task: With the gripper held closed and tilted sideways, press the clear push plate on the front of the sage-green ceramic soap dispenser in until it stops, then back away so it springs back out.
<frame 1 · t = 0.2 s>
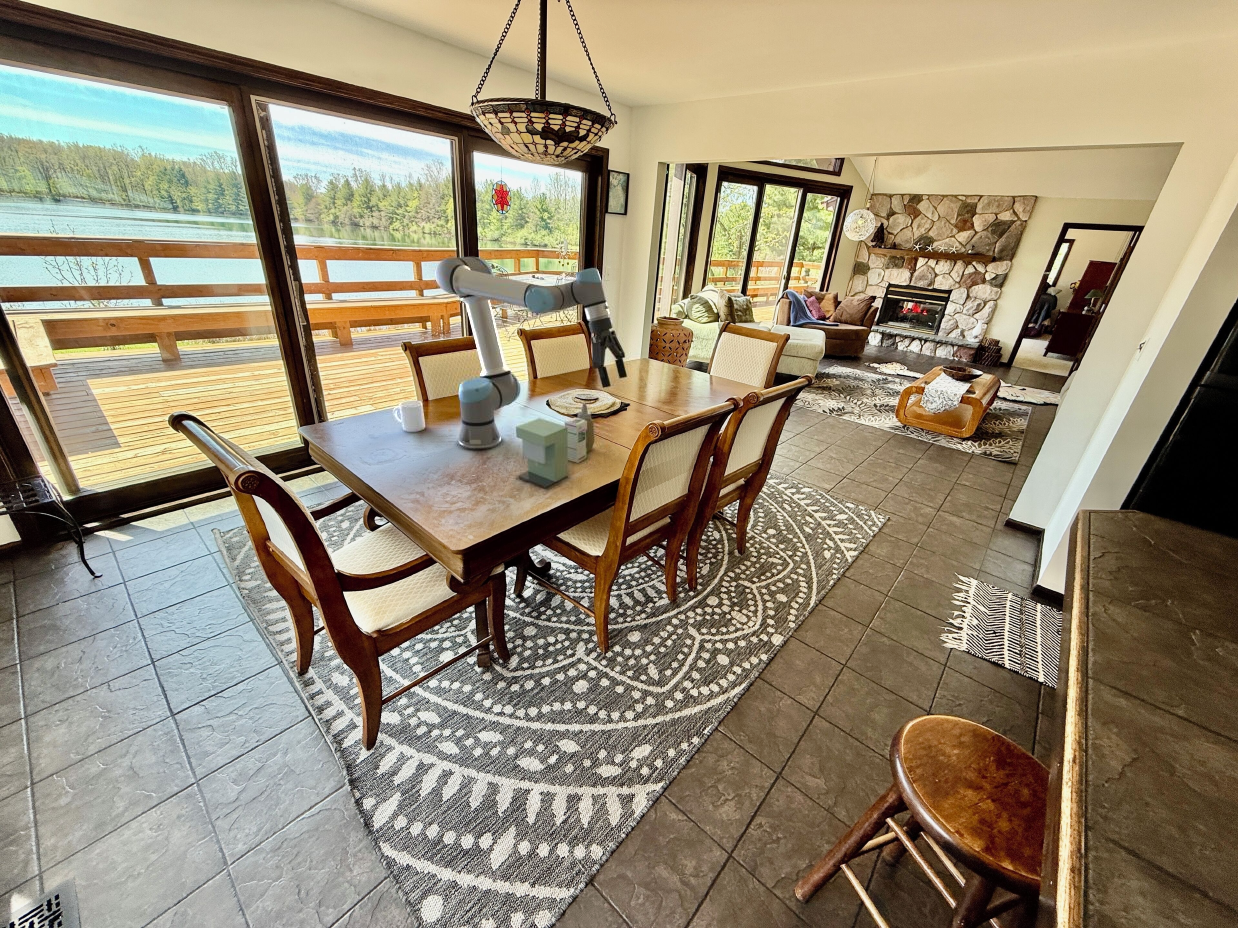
hand: (615, 382, 163), 28 cm above the table, tool tilted 20°, fingers open, 13 cm apart
squeeze bottle: (583, 450, 179), on the table
mug: (409, 428, 190), on the table
dispenser: (546, 476, 158), on the table
push plate: (533, 451, 149), point 11 cm above the table, slide at 0.0 cm
syrup box: (575, 459, 172), on the table
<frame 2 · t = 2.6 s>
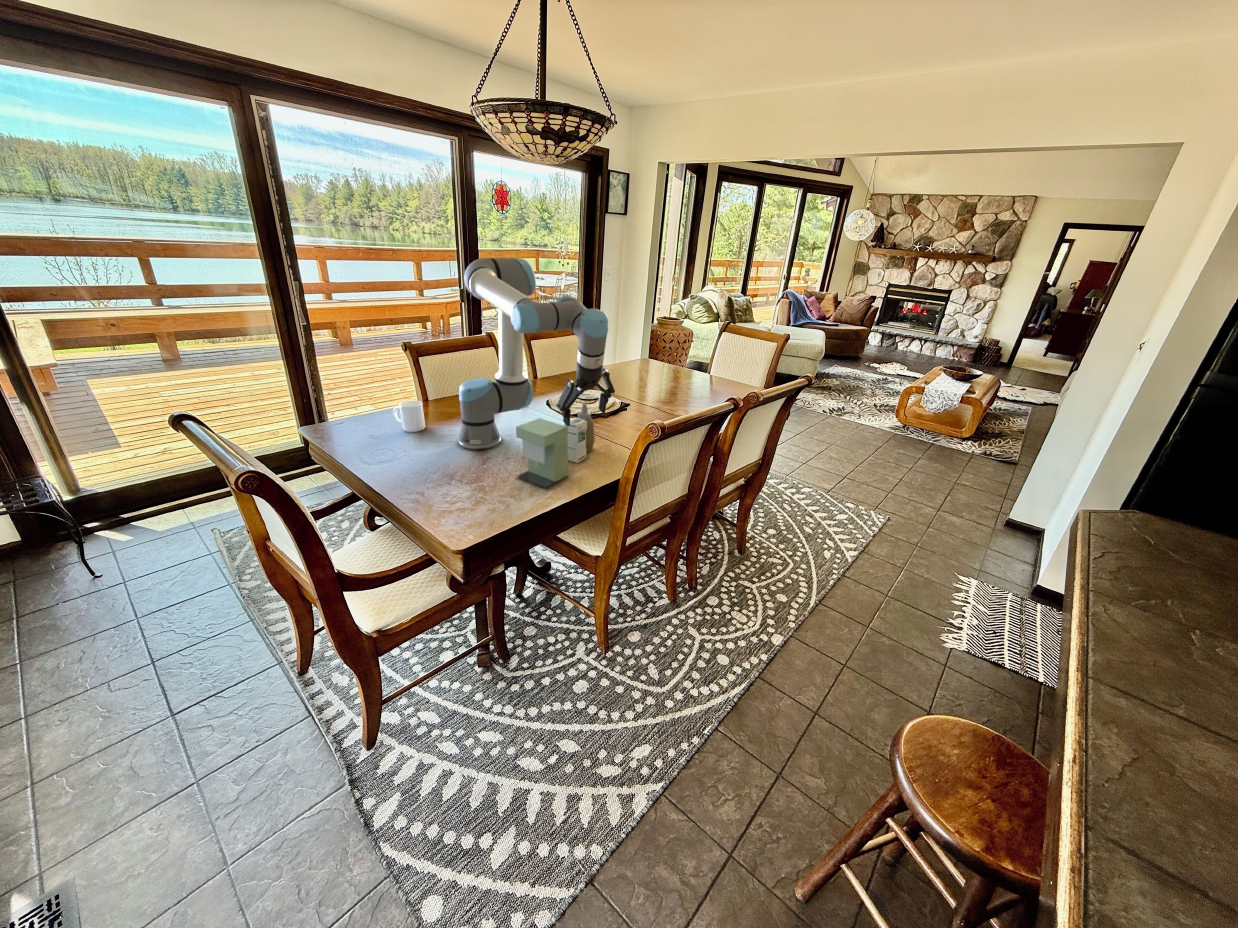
hand: (584, 417, 154), 20 cm above the table, tool tilted 25°, fingers open, 13 cm apart
nothing on the table moved.
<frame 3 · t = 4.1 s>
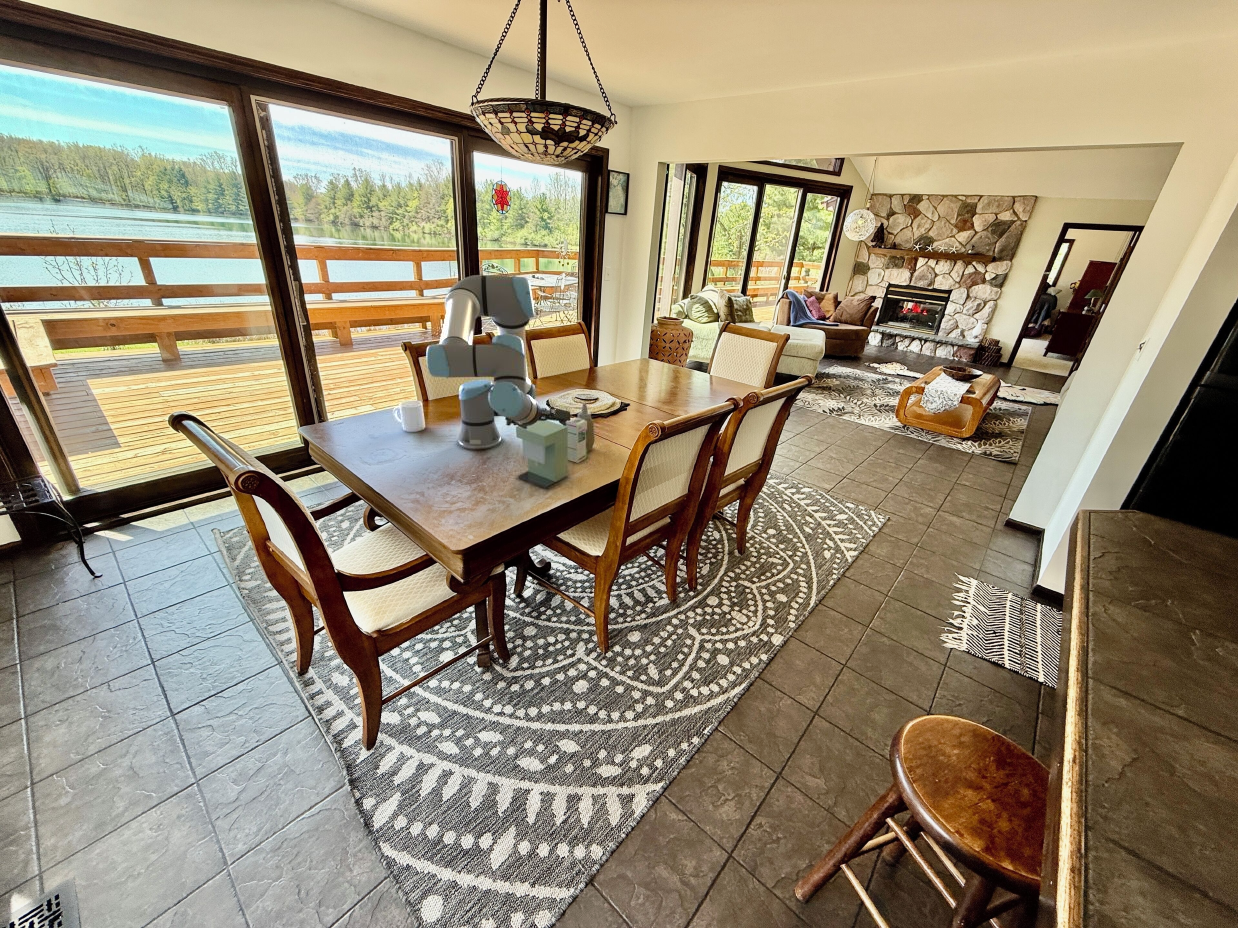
hand: (545, 422, 145), 21 cm above the table, tool tilted 60°, fingers open, 11 cm apart
nothing on the table moved.
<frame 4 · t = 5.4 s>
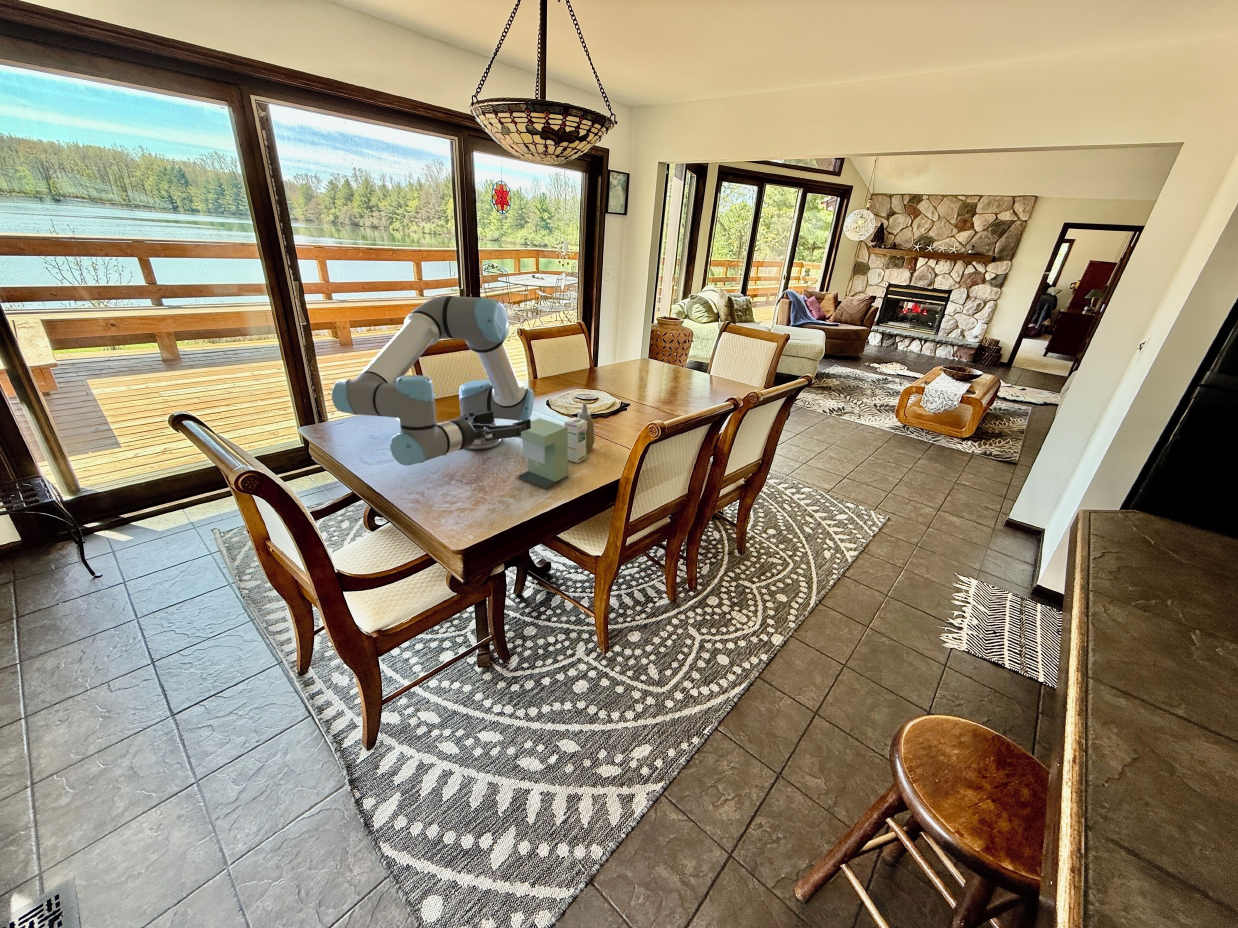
hand: (510, 419, 136), 24 cm above the table, tool horizontal, fingers open, 13 cm apart
nothing on the table moved.
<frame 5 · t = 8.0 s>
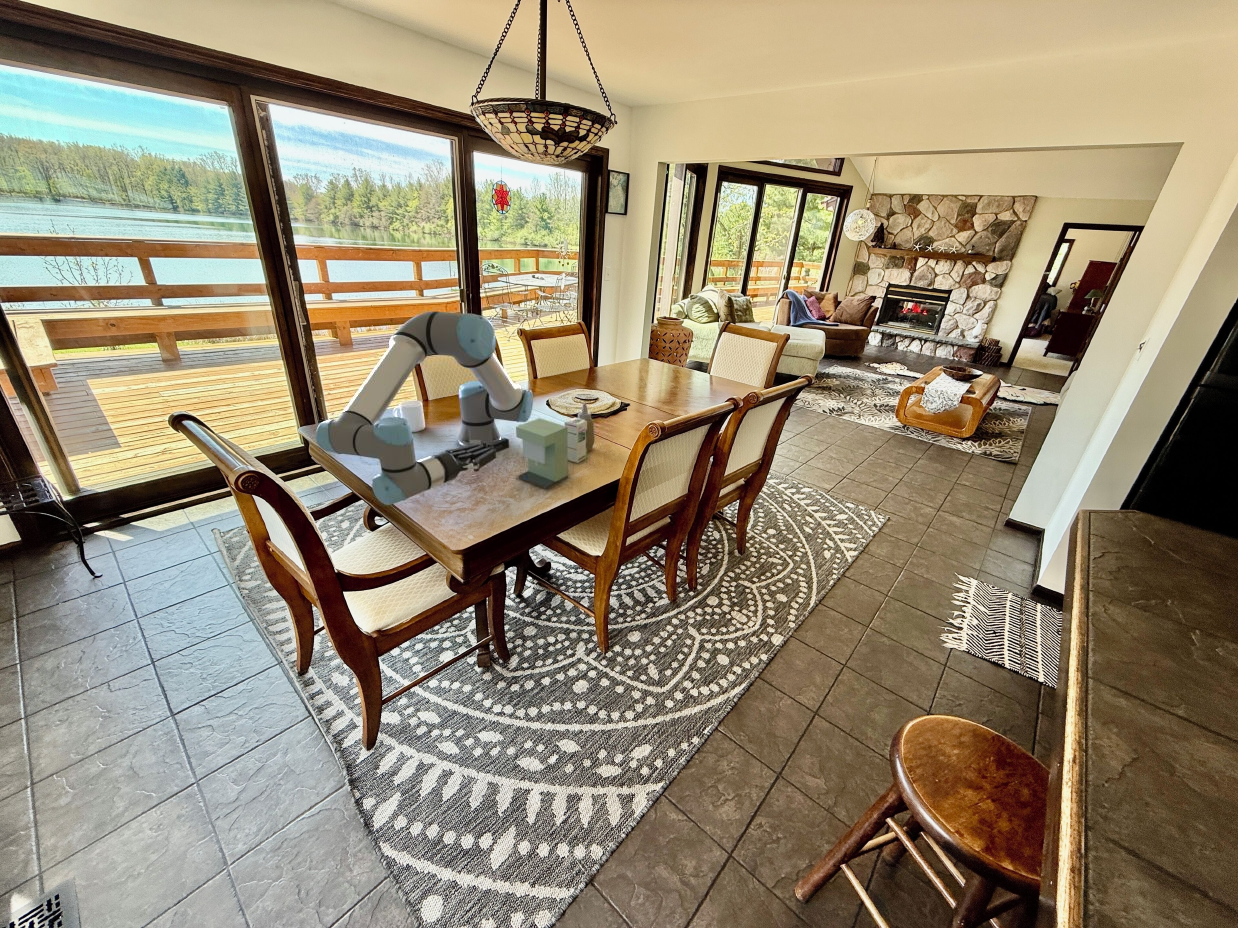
hand: (506, 442, 139), 17 cm above the table, tool horizontal, fingers closed
nothing on the table moved.
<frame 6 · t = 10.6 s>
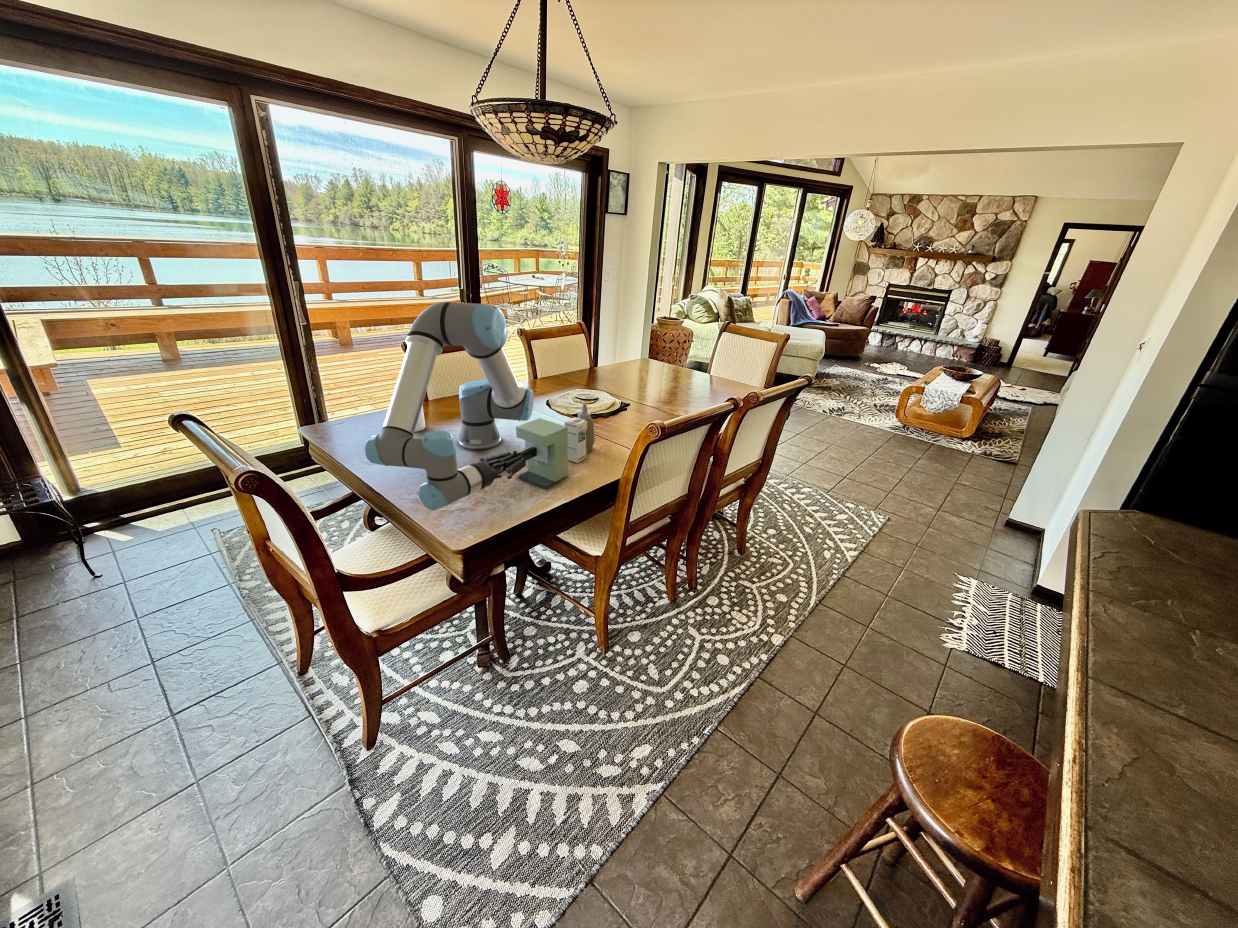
hand: (534, 451, 150), 11 cm above the table, tool horizontal, fingers closed
push plate: (536, 450, 150), point 11 cm above the table, slide at 1.0 cm, touching gripper
everything else where it was.
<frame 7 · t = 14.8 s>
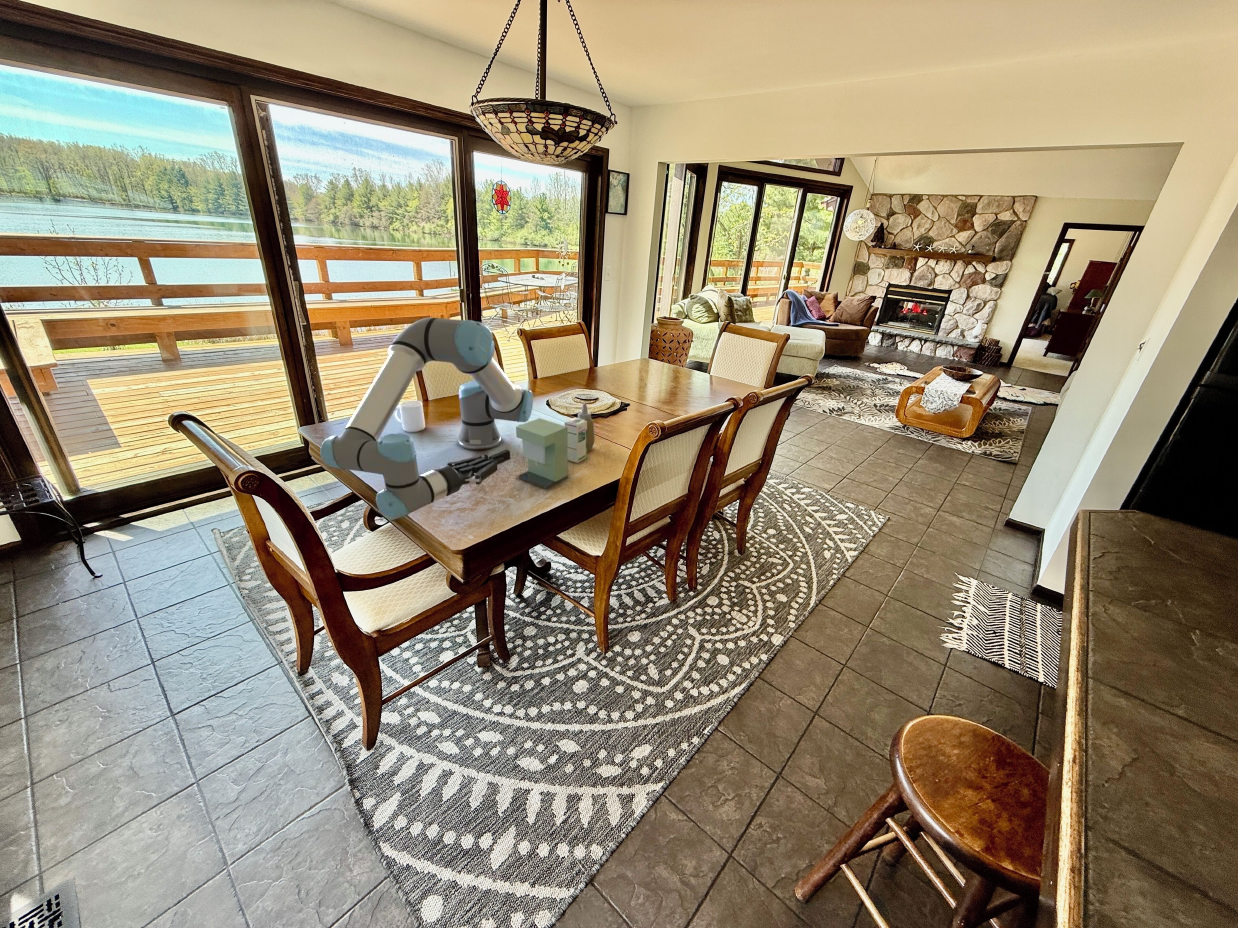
hand: (508, 454, 140), 14 cm above the table, tool horizontal, fingers closed
push plate: (533, 451, 149), point 11 cm above the table, slide at 0.0 cm
everything else where it was.
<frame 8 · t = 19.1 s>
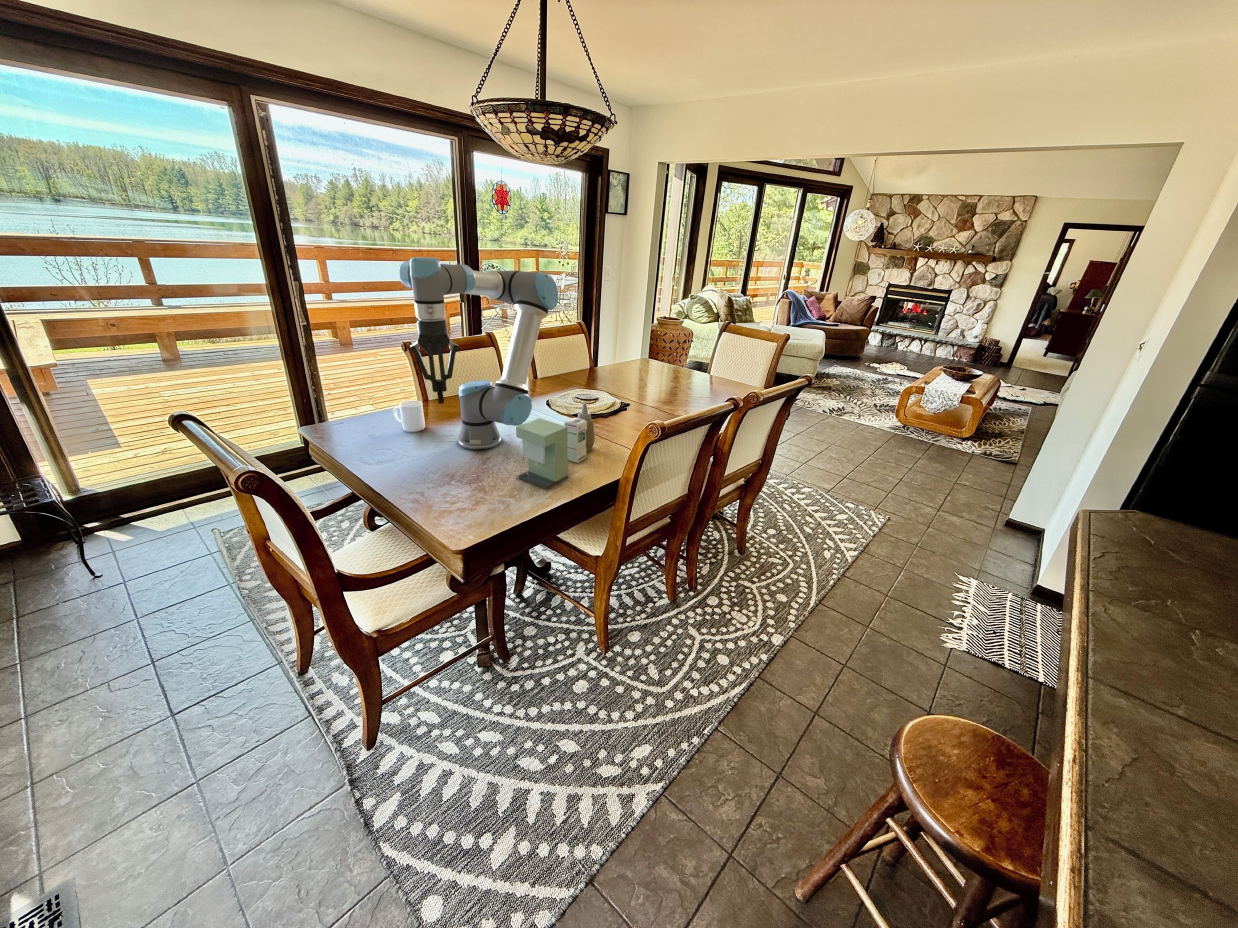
hand: (441, 402, 140), 26 cm above the table, tool pointing down, fingers closed
nothing on the table moved.
at the end: push plate pulled out 2.7 cm at the most during the clip, back to where it started at the end; push plate slide at 0.0 cm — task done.
